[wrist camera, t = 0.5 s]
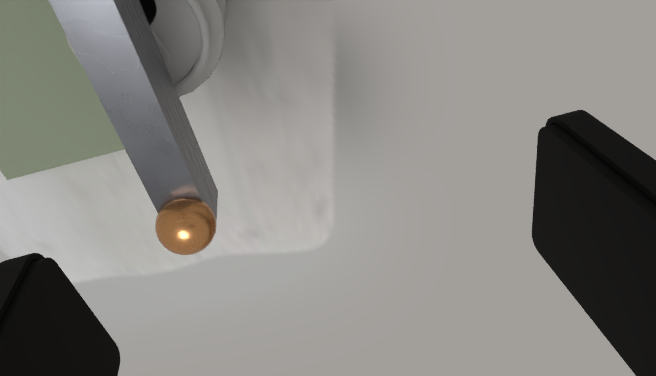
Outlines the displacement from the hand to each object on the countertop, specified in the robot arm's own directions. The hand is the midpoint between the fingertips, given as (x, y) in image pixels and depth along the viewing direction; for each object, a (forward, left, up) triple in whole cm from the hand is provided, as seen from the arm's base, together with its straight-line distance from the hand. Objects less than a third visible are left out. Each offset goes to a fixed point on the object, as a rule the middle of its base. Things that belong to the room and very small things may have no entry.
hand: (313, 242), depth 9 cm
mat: (+3, -17, -28) cm, 33 cm away
